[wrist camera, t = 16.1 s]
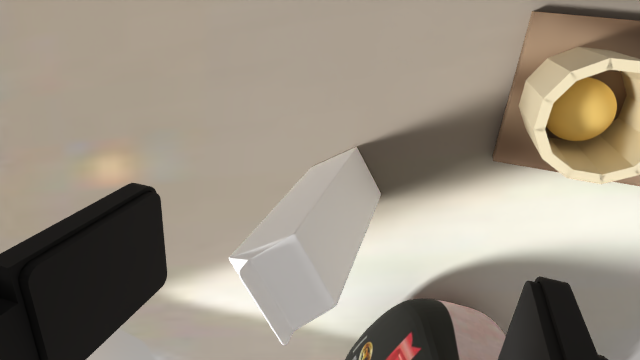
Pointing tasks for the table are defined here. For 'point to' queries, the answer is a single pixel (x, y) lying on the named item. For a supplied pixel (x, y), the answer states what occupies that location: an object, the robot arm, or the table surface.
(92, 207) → the robot arm
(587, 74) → the tube
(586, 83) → the ball ochre
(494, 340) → the packaged food
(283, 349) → the table surface
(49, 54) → the table surface
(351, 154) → the milk
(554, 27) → the tube board
